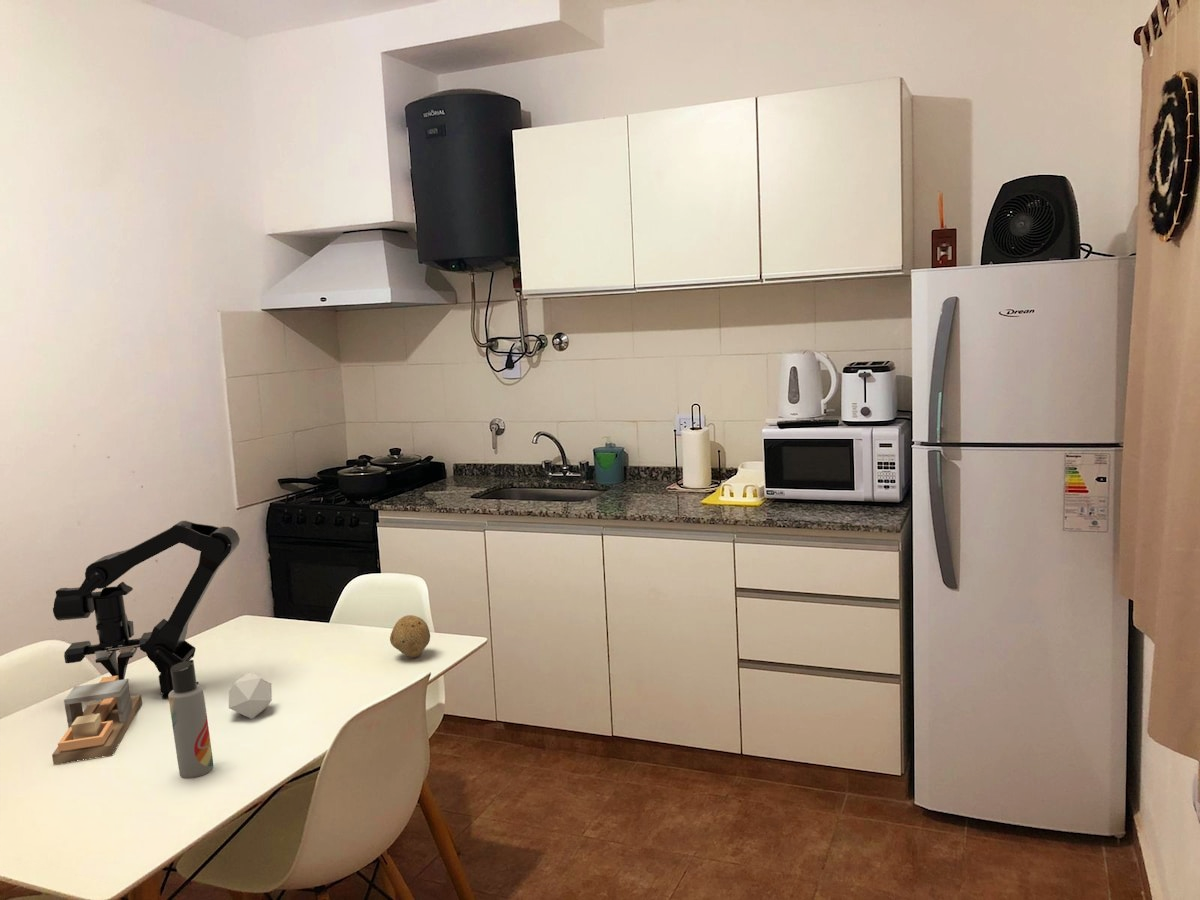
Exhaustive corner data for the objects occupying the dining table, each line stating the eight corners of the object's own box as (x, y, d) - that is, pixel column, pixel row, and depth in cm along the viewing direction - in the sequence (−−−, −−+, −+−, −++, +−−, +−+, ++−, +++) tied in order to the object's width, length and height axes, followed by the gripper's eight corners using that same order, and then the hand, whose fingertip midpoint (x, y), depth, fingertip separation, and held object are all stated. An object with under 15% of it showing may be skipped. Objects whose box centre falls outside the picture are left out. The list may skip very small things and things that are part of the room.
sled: (133, 696, 200) (130, 673, 199) (103, 744, 177) (99, 719, 176) (94, 701, 198) (90, 679, 197) (59, 751, 175) (54, 725, 174)
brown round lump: (385, 663, 215) (380, 621, 213) (402, 649, 223) (398, 609, 222) (422, 664, 213) (418, 622, 211) (437, 650, 221) (433, 609, 220)
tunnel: (142, 703, 201) (136, 666, 200) (112, 755, 177) (105, 712, 176) (91, 711, 199) (85, 673, 198) (53, 764, 175) (46, 721, 174)
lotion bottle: (220, 764, 170) (206, 659, 167) (198, 780, 165) (182, 671, 162) (195, 761, 172) (180, 657, 169) (172, 776, 167) (156, 669, 164)
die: (282, 714, 192) (279, 669, 196) (252, 710, 185) (249, 663, 189) (251, 727, 194) (248, 681, 199) (220, 723, 187) (217, 676, 191)
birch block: (103, 732, 183) (100, 713, 182) (97, 741, 179) (94, 721, 178) (80, 736, 182) (77, 716, 181) (74, 745, 178) (71, 725, 177)
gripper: (164, 598, 213) (173, 664, 215) (73, 610, 208) (83, 678, 210) (154, 613, 202) (164, 682, 204) (58, 626, 197) (69, 697, 200)
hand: (121, 684), depth 205 cm, fingers closed
